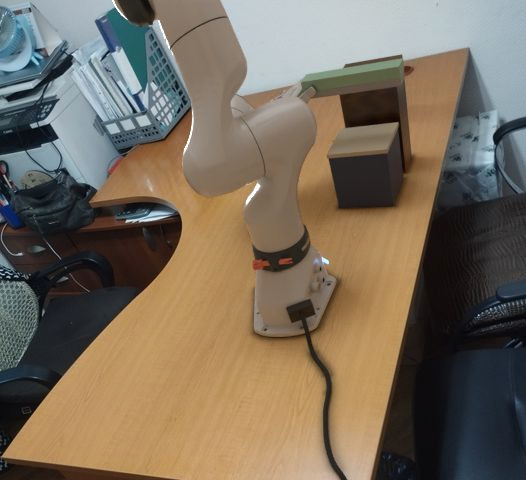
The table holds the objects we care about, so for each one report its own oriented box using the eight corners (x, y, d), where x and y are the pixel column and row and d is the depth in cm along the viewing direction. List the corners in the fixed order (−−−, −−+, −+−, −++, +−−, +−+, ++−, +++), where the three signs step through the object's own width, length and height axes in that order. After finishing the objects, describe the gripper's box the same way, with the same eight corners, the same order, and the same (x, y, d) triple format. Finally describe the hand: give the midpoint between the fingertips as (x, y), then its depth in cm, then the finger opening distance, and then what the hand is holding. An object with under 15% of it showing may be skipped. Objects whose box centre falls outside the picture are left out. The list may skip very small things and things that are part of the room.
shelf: (354, 176, 140) (336, 78, 122) (361, 160, 144) (345, 64, 126) (405, 172, 133) (395, 68, 115) (411, 156, 138) (402, 54, 120)
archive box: (338, 208, 131) (326, 154, 121) (350, 181, 138) (340, 128, 128) (394, 206, 125) (386, 149, 114) (404, 178, 132) (398, 122, 121)
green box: (304, 99, 117) (300, 82, 115) (309, 92, 120) (305, 74, 117) (401, 86, 108) (399, 66, 105) (404, 77, 110) (403, 58, 107)
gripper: (254, 130, 118) (294, 92, 108) (283, 89, 130) (322, 52, 120) (272, 150, 121) (313, 116, 111) (299, 109, 132) (339, 74, 122)
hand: (318, 83), depth 115 cm, fingers closed on green box, 4 cm apart
